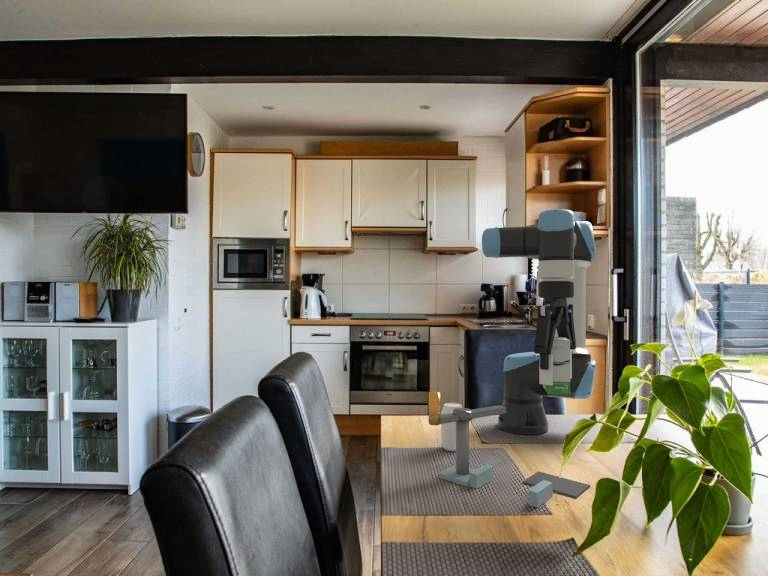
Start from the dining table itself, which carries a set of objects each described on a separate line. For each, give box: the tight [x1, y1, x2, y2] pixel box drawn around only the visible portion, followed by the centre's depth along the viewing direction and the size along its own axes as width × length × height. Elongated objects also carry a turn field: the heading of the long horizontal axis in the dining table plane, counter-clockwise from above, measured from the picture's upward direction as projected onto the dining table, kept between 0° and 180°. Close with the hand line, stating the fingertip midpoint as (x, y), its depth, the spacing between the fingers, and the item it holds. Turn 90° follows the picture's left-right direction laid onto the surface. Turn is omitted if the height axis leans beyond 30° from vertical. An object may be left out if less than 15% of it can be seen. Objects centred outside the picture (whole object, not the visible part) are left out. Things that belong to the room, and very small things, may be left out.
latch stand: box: [437, 421, 554, 508], centre depth 110 cm, size 8×24×13 cm, turn 48°
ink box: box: [543, 336, 570, 395], centre depth 110 cm, size 9×5×12 cm, turn 168°
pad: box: [522, 471, 591, 499], centre depth 110 cm, size 8×12×1 cm, turn 48°
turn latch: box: [428, 390, 506, 426], centre depth 116 cm, size 4×22×7 cm, turn 120°
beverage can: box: [440, 402, 463, 452], centre depth 135 cm, size 6×6×12 cm
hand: (556, 381), depth 110 cm, fingers closed on ink box, 9 cm apart
